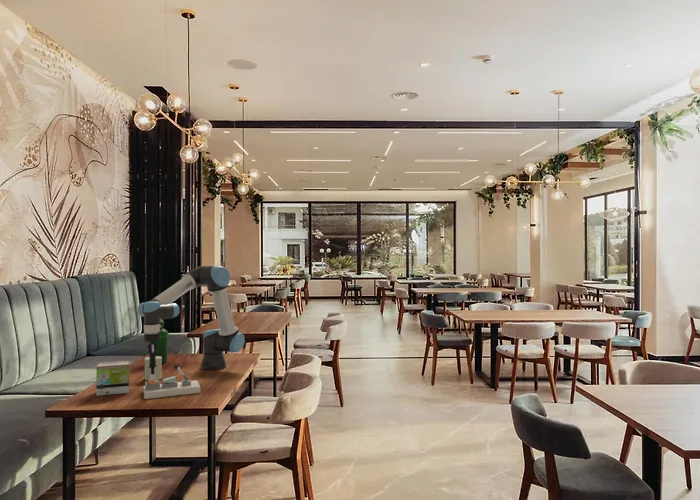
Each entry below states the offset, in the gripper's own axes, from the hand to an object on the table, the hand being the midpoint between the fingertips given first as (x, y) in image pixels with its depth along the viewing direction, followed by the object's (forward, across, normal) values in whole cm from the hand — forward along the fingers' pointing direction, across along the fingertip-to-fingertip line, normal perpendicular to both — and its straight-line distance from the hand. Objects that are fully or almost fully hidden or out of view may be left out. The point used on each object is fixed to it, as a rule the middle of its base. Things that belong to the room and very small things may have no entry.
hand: (152, 380), depth 254 cm
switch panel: (+7, 0, -9) cm, 11 cm away
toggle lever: (+1, 0, -16) cm, 16 cm away
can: (+7, +35, -2) cm, 36 cm away
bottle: (+7, +77, -8) cm, 78 cm away
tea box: (+7, +13, +18) cm, 23 cm away
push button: (+3, 0, 0) cm, 3 cm away
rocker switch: (+1, 0, -8) cm, 8 cm away
